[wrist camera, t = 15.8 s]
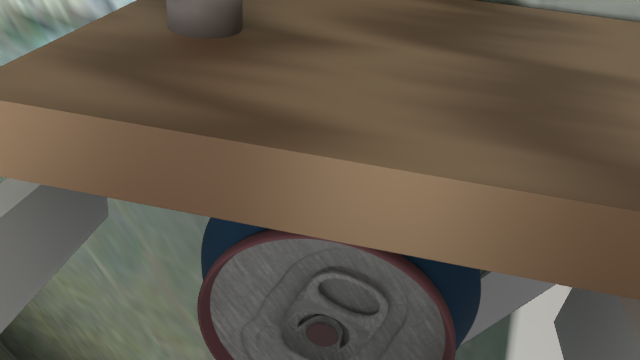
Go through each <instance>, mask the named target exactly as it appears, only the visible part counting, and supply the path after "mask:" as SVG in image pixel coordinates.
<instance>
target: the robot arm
mask: <svg viewBox="0 0 640 360" xmlns="http://www.w3.org/2000/svg"><path fill="white" fill-rule="evenodd" d="M107 217H108V206H107V197H104V196H99V195H94V194H88V193H83V192H78V191H73V190H68V189H63V188H57V187H52V186H47V185H42V184H37V183H31V182H26V181H21V180H16V179H11V178H7V179H6V180H5V181H3V182H2V183H0V334H1V333H2V332H3V331H4V329H5V328H6V327H7V326H8V325H9V324H10V323H11V322H12V321H13V320H14V318H15V317H16V316H17V315H18V314H19V313H20V312H21V311H22V310H23V309H24V308H25V306H26V305H27V304H28V303H29V302H30V301H31V300H32V299H33V298H34V297H35V295H36V294H37V293H38V292H39V291H40V290H41V289H42V288H43V287H44V286H45V285H46V283H47V282H48V281H49V280H50V279H51V278H52V277H53V276H54V275H55V274H56V272H57V271H58V270H59V269H60V268H61V267H62V266H63V265H64V264H65V263H66V262H67V260H68V259H69V258H70V257H71V256H72V255H73V254H74V253H75V252H76V251H77V250H78V248H79V247H80V246H81V245H82V244H83V243H84V242H85V241H86V240H87V239H88V237H89V236H90V235H91V234H92V233H93V232H94V231H95V230H96V229H97V228H98V227H99V225H100V224H101V223H102V222H103V221H104V220H105V219H106V218H107ZM554 324H555V328H556V332H557V335H558V339H559V343H560V346H561V350H562V354H563V357H564V360H640V300H636V299H631V298H626V297H621V296H616V295H610V294H605V293H600V292H595V291H590V290H585V289H579V288H574V287H573V288H572V289H571V291H570V293H569V295H568V297H567V299H566V300H565V303H564V304H563V306H562V308H561V310H560V312H559V313H558V315H557V317H556V319H555V321H554Z"/></svg>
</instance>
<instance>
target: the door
mask: <svg viewBox="0 0 640 360" xmlns="http://www.w3.org/2000/svg"><path fill="white" fill-rule="evenodd" d="M0 177H6V178H11V179H16V180H21V181H26V182H31V183H37V184H42V185H47V186H52V187H57V188H63V189H68V190H73V191H78V192H83V193H88V194H94V195H99V196H104V197H109V198H114V199H119V200H125V201H130V202H135V203H140V204H145V205H150V206H156V207H161V208H166V209H171V210H176V211H181V212H187V213H192V214H197V215H202V216H207V217H212V218H218V219H223V220H228V221H233V222H238V223H243V224H249V225H254V226H259V227H264V228H269V229H274V230H280V231H285V232H290V233H295V234H300V235H305V236H311V237H316V238H321V239H326V240H331V241H336V242H342V243H347V244H352V245H357V246H362V247H368V248H373V249H378V250H383V251H388V252H393V253H399V254H404V255H409V256H414V257H419V258H424V259H430V260H435V261H440V262H445V263H450V264H455V265H461V266H466V267H471V268H476V269H481V270H486V271H492V272H497V273H502V274H507V275H512V276H517V277H523V278H528V279H533V280H538V281H543V282H548V283H554V284H559V285H564V286H569V287H574V288H579V289H585V290H590V291H595V292H600V293H605V294H610V295H616V296H621V297H626V298H631V299H636V300H640V22H634V21H626V20H619V19H611V18H604V17H596V16H589V15H581V14H574V13H566V12H559V11H551V10H544V9H536V8H529V7H521V6H514V5H506V4H499V3H491V2H484V1H476V0H137V1H134V2H132V3H130V4H128V5H126V6H124V7H122V8H120V9H118V10H116V11H114V12H112V13H110V14H108V15H106V16H104V17H102V18H100V19H97V20H95V21H93V22H91V23H89V24H87V25H85V26H83V27H81V28H79V29H77V30H75V31H73V32H71V33H69V34H67V35H65V36H63V37H60V38H58V39H56V40H54V41H52V42H50V43H48V44H46V45H44V46H42V47H40V48H38V49H36V50H34V51H32V52H30V53H28V54H26V55H23V56H21V57H19V58H17V59H15V60H13V61H11V62H9V63H7V64H5V65H3V66H1V67H0Z"/></svg>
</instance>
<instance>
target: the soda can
mask: <svg viewBox="0 0 640 360" xmlns="http://www.w3.org/2000/svg"><path fill="white" fill-rule="evenodd" d="M201 263H202V275H203V283H202V286H201V289H200V293H199V298H198V320H199V325H200V329H201V333H202V335H203V338H204V340H205V342H206V345H207V346H208V348H209V350H210V352H211V353H212V355H213V356H214V358H215V359H216V360H454V358H455V351H456V350H457V348H458V347H459V346H460V344H461V343H462V342H463V340H464V339H465V337H466V336H467V334H468V332H469V331H470V329H471V327H472V325H473V323H474V321H475V318H476V315H477V313H478V309H479V304H480V298H481V278H480V269H476V268H471V267H466V266H461V265H455V264H450V263H445V262H440V261H435V260H430V259H424V258H419V257H414V256H409V255H404V254H399V253H393V252H388V251H383V250H378V249H373V248H368V247H362V246H357V245H352V244H347V243H342V242H336V241H331V240H326V239H321V238H316V237H311V236H305V235H300V234H295V233H290V232H285V231H280V230H274V229H269V228H264V227H259V226H254V225H249V224H243V223H238V222H233V221H228V220H223V219H218V218H212V217H211V218H210V220H209V222H208V224H207V227H206V230H205V233H204V237H203V242H202V251H201Z"/></svg>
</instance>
